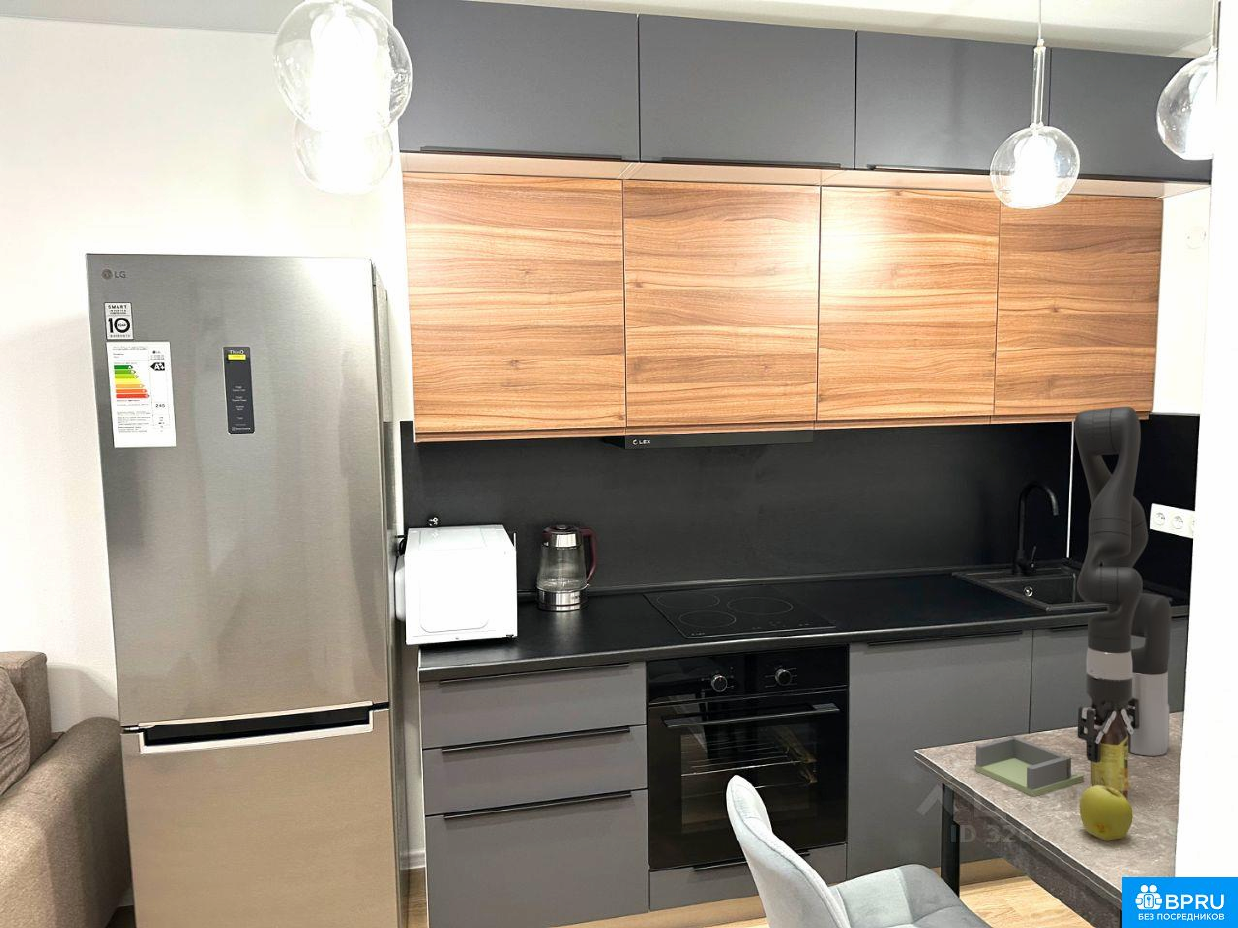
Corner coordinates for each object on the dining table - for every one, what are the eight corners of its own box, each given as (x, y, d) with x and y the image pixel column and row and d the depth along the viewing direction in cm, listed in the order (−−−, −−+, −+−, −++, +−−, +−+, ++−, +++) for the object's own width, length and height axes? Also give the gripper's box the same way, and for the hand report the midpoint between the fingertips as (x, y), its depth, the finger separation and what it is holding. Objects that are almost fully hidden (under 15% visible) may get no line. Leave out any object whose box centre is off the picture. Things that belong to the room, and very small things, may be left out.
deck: (1023, 756, 185) (1023, 732, 184) (1083, 781, 172) (1083, 755, 172) (974, 770, 179) (974, 745, 178) (1033, 796, 166) (1033, 769, 166)
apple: (1070, 832, 150) (1076, 772, 151) (1085, 830, 155) (1091, 772, 157) (1121, 848, 144) (1127, 785, 146) (1135, 845, 150) (1141, 785, 151)
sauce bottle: (1133, 802, 162) (1134, 697, 161) (1096, 800, 164) (1097, 695, 162) (1120, 787, 169) (1121, 685, 168) (1085, 785, 170) (1085, 684, 169)
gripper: (1115, 661, 171) (1115, 743, 172) (1065, 672, 165) (1065, 757, 166) (1153, 671, 165) (1152, 756, 165) (1102, 683, 158) (1101, 771, 159)
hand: (1108, 756), depth 166 cm, fingers open, 8 cm apart
